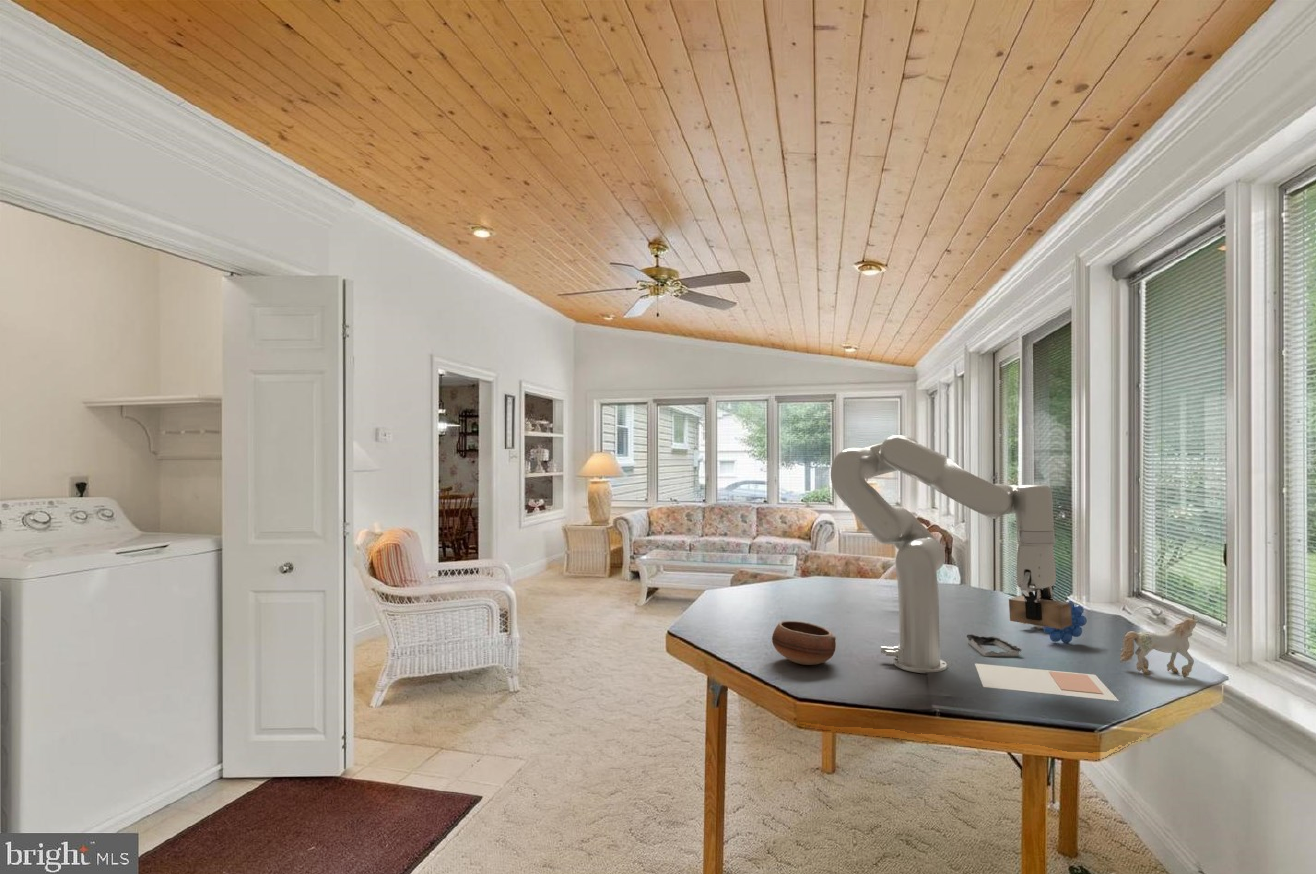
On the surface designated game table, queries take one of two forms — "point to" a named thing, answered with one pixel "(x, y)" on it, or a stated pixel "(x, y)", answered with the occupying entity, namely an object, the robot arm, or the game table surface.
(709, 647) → the game table surface
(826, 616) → the game table surface
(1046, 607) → the walnut block
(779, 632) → the bowl
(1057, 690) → the rubber mat
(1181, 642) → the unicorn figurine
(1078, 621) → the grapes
